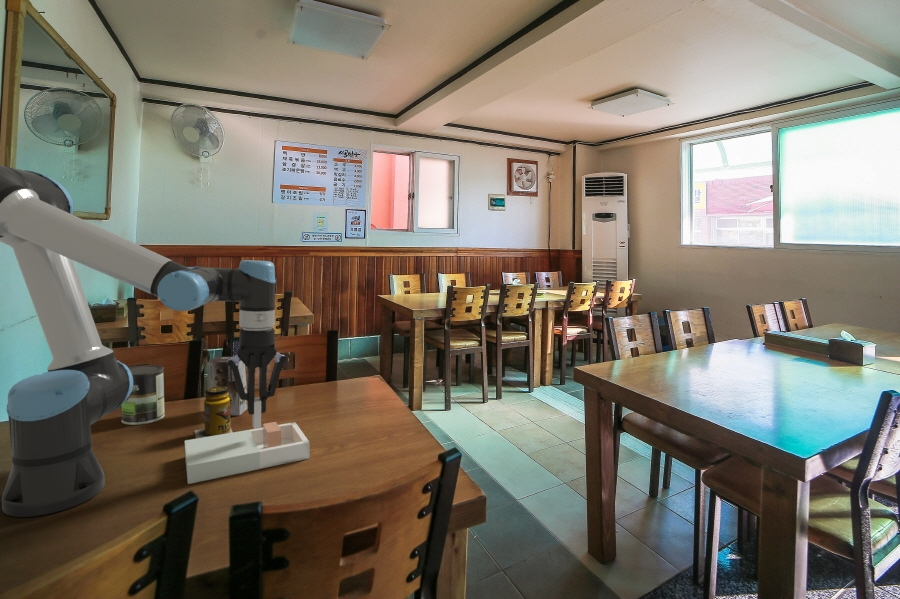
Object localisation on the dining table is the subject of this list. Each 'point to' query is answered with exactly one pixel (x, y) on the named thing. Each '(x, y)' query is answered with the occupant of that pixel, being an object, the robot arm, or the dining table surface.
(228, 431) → the condiment
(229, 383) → the coffee box
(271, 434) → the tile
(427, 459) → the dining table surface
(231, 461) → the white flat block
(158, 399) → the coffee can
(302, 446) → the box
